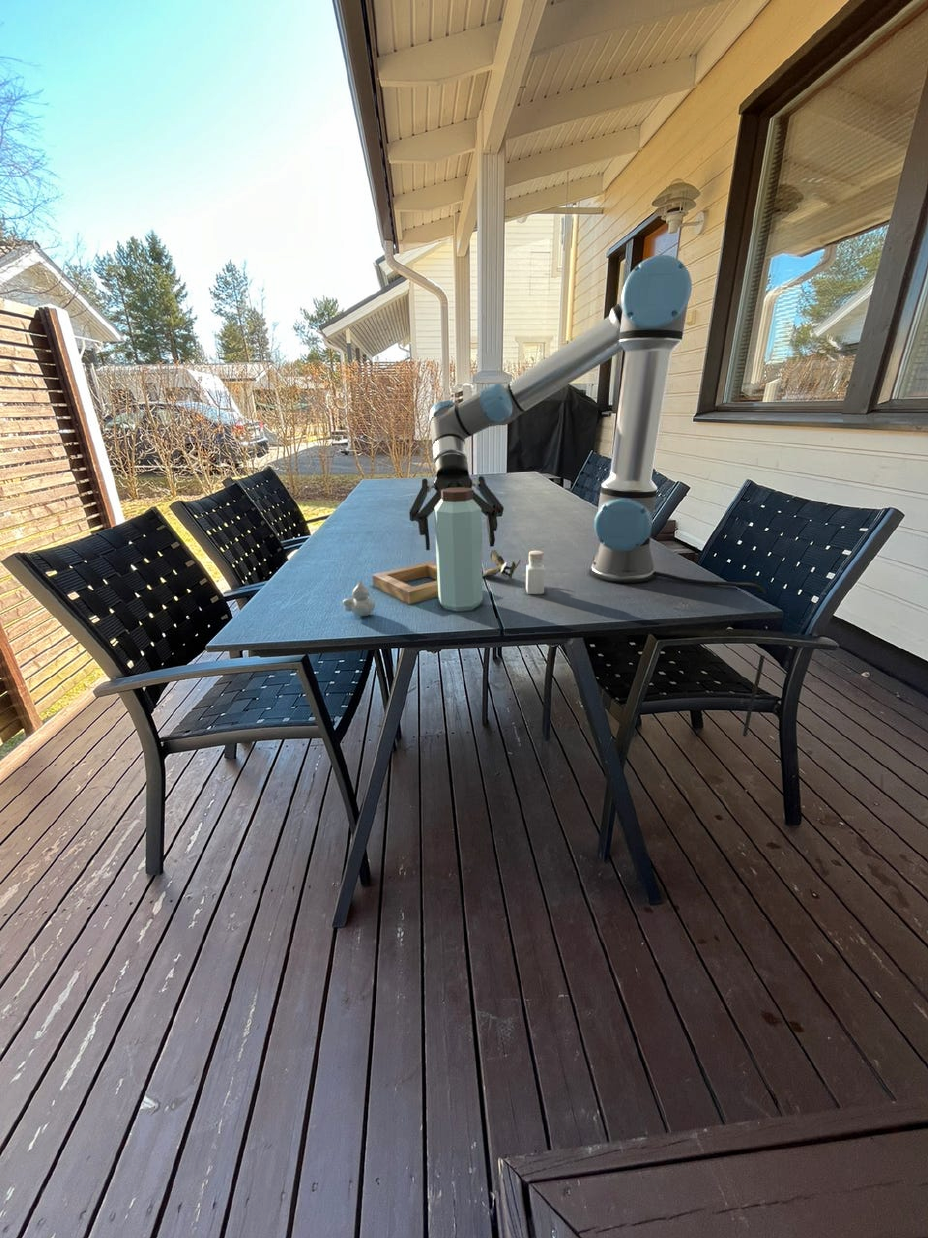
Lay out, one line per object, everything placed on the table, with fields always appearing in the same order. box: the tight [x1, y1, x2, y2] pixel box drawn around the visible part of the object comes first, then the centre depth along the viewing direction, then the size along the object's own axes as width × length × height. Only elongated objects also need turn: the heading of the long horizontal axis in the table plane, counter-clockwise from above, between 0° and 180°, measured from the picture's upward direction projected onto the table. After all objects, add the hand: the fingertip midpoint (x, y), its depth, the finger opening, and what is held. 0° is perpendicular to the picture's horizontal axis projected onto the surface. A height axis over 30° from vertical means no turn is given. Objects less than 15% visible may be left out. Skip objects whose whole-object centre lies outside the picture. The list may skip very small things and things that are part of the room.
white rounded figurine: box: [342, 580, 376, 617], centre depth 110 cm, size 5×7×8 cm
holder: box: [372, 561, 438, 605], centre depth 127 cm, size 17×17×3 cm
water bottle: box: [433, 487, 484, 612], centre depth 111 cm, size 10×10×25 cm
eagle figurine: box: [482, 549, 521, 581], centre depth 132 cm, size 8×7×9 cm
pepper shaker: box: [525, 550, 546, 595], centre depth 121 cm, size 4×4×10 cm
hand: (460, 545), depth 110 cm, fingers open, 13 cm apart
